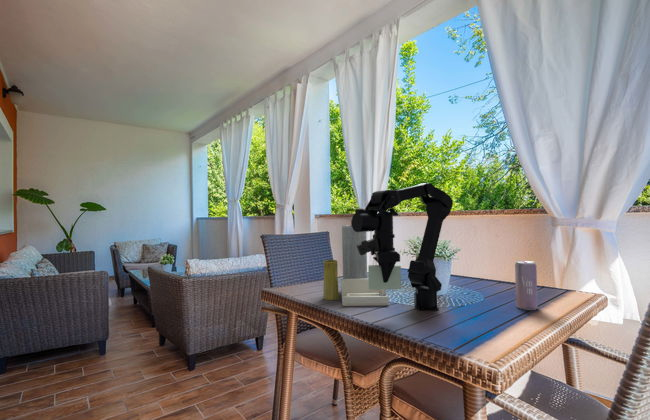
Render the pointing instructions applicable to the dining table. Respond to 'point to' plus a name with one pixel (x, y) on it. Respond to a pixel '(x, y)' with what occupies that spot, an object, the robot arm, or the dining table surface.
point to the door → (377, 278)
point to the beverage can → (526, 285)
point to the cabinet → (361, 293)
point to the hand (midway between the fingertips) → (384, 281)
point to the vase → (330, 280)
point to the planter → (353, 254)
